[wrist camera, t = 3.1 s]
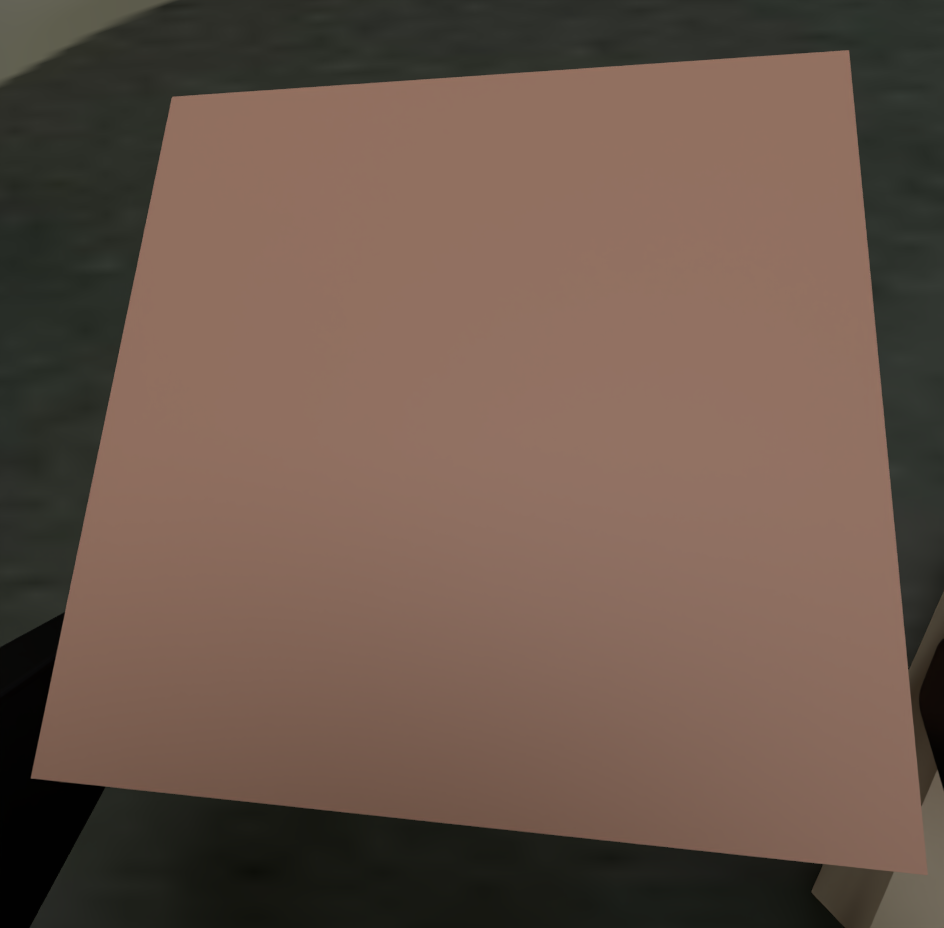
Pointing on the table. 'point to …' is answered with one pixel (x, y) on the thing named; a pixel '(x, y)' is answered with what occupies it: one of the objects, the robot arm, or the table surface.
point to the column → (505, 468)
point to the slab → (940, 892)
